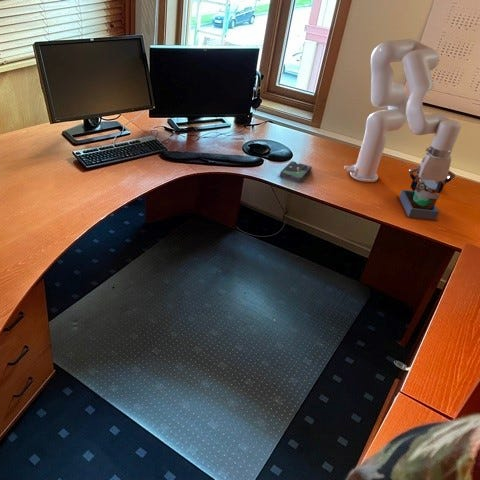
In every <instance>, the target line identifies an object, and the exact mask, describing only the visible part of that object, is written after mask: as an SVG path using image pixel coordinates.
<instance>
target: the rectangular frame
mask: <svg viewBox="0 0 480 480" xmlns="http://www.w3.org/2000/svg"><path fill="white" fill-rule="evenodd" d="M414 194H415V191H413V190H409V189H402V190H401V192H400V194H399V196H398V198H399V200H400V202H401V205H402V207H403V209H404V211H405V213H406V215H407V217H408V218H413V219H420V220H421V219H423V220H430V221H436V220H437V219H438V216H439V213H440V210H439V209H438V208H437V206H436V204H435V205H434V207H433V208H432V210H425V209H417V208H413V207H412V205H411V204H412V202H411V200H412V201H413V197H414Z"/></svg>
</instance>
